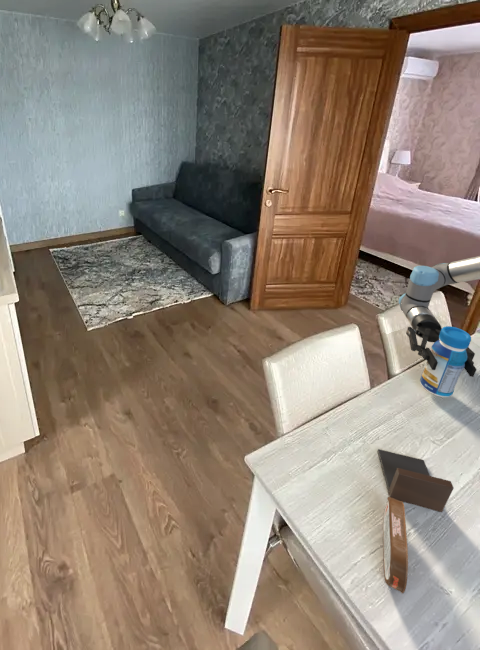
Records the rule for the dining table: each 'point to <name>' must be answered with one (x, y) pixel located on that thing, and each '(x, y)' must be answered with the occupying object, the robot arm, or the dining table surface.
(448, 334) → the blue capped bottle
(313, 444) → the dining table surface
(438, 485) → the dock
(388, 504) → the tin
